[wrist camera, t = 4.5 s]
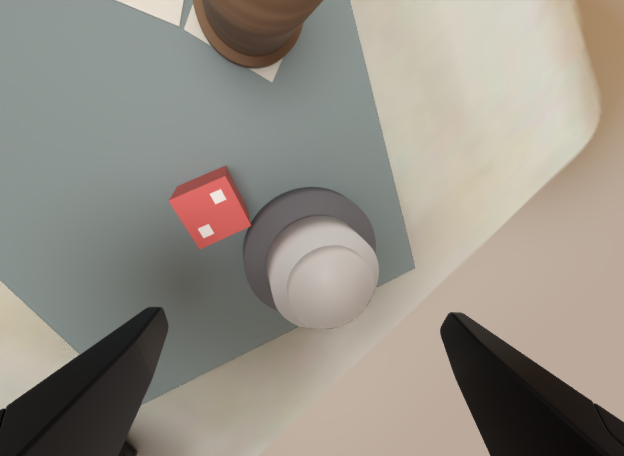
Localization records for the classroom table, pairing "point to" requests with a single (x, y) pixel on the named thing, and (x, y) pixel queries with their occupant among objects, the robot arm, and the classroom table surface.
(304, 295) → the pop dome
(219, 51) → the walnut pawn
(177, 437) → the classroom table surface
